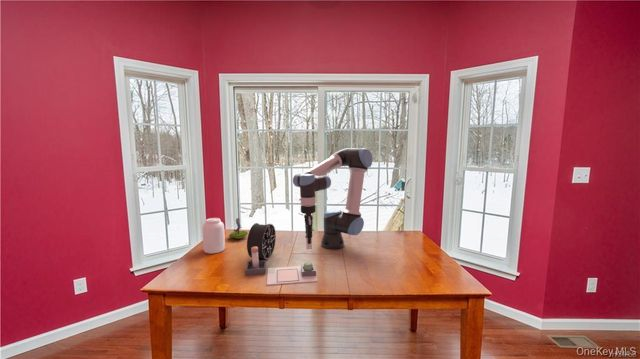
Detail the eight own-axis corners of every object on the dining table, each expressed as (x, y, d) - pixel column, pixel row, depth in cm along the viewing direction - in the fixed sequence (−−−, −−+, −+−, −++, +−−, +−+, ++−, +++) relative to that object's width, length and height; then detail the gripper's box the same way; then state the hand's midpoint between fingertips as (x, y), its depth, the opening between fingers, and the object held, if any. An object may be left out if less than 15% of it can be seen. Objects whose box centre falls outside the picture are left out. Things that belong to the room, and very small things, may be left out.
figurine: (231, 235, 196) (230, 215, 194) (249, 234, 197) (248, 214, 195) (226, 241, 182) (226, 220, 180) (246, 241, 183) (245, 220, 181)
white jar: (207, 255, 159) (206, 223, 156) (200, 249, 168) (199, 218, 166) (228, 250, 167) (227, 219, 164) (220, 245, 176) (219, 215, 174)
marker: (259, 267, 142) (258, 246, 141) (259, 270, 139) (257, 248, 137) (253, 268, 142) (251, 246, 140) (252, 271, 139) (250, 249, 137)
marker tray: (266, 265, 146) (266, 260, 146) (265, 274, 136) (265, 268, 136) (247, 266, 145) (247, 261, 144) (245, 275, 135) (245, 269, 135)
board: (312, 266, 146) (312, 264, 146) (317, 281, 129) (317, 280, 129) (268, 269, 142) (268, 267, 142) (266, 285, 125) (266, 284, 125)
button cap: (311, 269, 139) (311, 262, 139) (313, 273, 135) (313, 265, 134) (303, 270, 138) (303, 262, 138) (304, 274, 134) (304, 266, 134)
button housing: (314, 269, 141) (314, 264, 140) (315, 275, 134) (315, 270, 134) (300, 270, 140) (300, 265, 139) (302, 276, 133) (302, 271, 132)
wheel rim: (262, 265, 147) (262, 229, 144) (247, 263, 148) (246, 228, 146) (275, 251, 166) (275, 219, 164) (262, 250, 168) (261, 219, 165)
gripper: (299, 202, 142) (300, 244, 145) (302, 208, 129) (303, 254, 133) (313, 201, 143) (314, 243, 147) (317, 207, 130) (318, 253, 134)
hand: (309, 248), depth 140 cm, fingers closed
